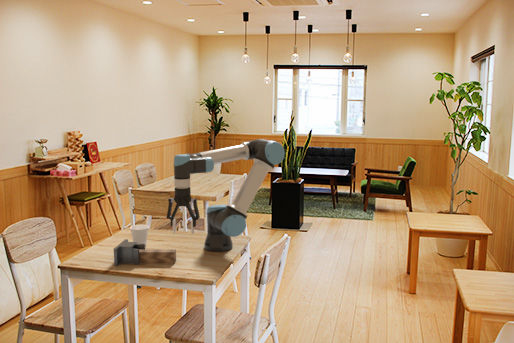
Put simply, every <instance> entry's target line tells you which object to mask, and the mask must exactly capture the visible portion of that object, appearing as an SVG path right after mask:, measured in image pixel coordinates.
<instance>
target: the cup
mask: <svg viewBox="0 0 514 343" xmlns="http://www.w3.org/2000/svg"><path fill="white" fill-rule="evenodd" d="M149 228H150V226H149V225H147V224H135V225H134V224H133V225H131V226H130V227H129V229H130V232H131V237H132V242H137V244H145V247H147V242H148V241H147V240H148V234H149Z"/></svg>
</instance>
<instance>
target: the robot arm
mask: <svg viewBox="0 0 514 343" xmlns="http://www.w3.org/2000/svg"><path fill="white" fill-rule="evenodd" d="M284 158H285V148H284V146H283V145H282V144H281V143H280V142H279V141H276V140H273V139H272V140H270V139H265V138H258V139H253V140H252V139H251V140H248V141H244V142H241V143H240V144H239V145H234V146H233V145H232V146H228V147H223V148H218V149H212V150H205V151H200V152H195V153H185V154H181V153H180V154H175V155H174V157H173V173H174V174H173V176H174V177H173V178H174V179H173V182H174V186H173V187H174V197H169V198H168V199H167V200H168V201H167V202H168V208H167V213H166V218H167V219H168V220H170V227H172V234H176V233H177V219H176V218H175V217H176V215H177V212H178V210H179V208H180V207H185V208H186V209H187V211H188V213H189V215H190V218H191V220H190V235H194V233H195V228H196V226H197V221H198V220H200V212H199V207H198V198H192V196H191V195H192V194H191V175H193V174H195V175H196V174H203V173H204V174H208V173H211V172H213V171H214V168H215V165H218V164H225V163H230V162H233V161H239V160H244V161H249V160H253V164H252V166H251V168H250V170H249V171H248V173H247V176H246V177H245V179H244V181H243V182H242V184H241V186H240V188H239V189H238V192H237V193H236V195H235V197H234V198H233V201H232V202H231V203H230V204H214V205H209V206H208V207H207V208H206V217H207V218H206V222H207V223H206V224H207V225H206V227H207V228H206V230H207V233H206V236H205V240H204V244H203V248H204V249H205V250H206V251H210V252H225V251H226V250H227V251H230V250H232V249H233V240H232V237H233V238H236V237H238V236H241V235H242V234H243V233H244V232H245V230H246V227H247V221H246V219H247V218H248V214H247V211H248V210H249V208H250V206H251V204H252V203H253V201H254V199H255V197H256V195H257V193H258V192H259V189H260V188H261V187H262V184H263V183H264V180H265V179H266V177H267V176H268V174H269V172H270V171H274V168H275V166H276V165H279V164H281V163H282V162H283V160H284ZM174 202H175V207H174V209H173V203H174ZM190 203H192V205H193V208H192V206H191V204H190ZM172 209H173V212H172ZM193 209H194V210H193ZM227 251H226V252H227Z"/></svg>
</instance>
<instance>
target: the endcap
mask: <svg viewBox="0 0 514 343" xmlns="http://www.w3.org/2000/svg"><path fill="white" fill-rule="evenodd" d="M139 250H146V246H145V244H137V242H133V241H129V238H128V239H124V240H122V241H121V242H120V243H119V244H117V245H116V246H115V247H114V248H113V263H114V266H116V267H118V266H119V265H120V264H131V265H136V266H137V265H138V266H140V257H139Z"/></svg>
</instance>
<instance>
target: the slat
mask: <svg viewBox="0 0 514 343" xmlns="http://www.w3.org/2000/svg"><path fill="white" fill-rule="evenodd" d="M139 257H140V264H143V265H144V264H145V265H146V264H149V265H150V264H151V265H153V264H162V265H163V264H168V265H169V264H176V262H177V249H145V250H139ZM140 264H139V265H140Z"/></svg>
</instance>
